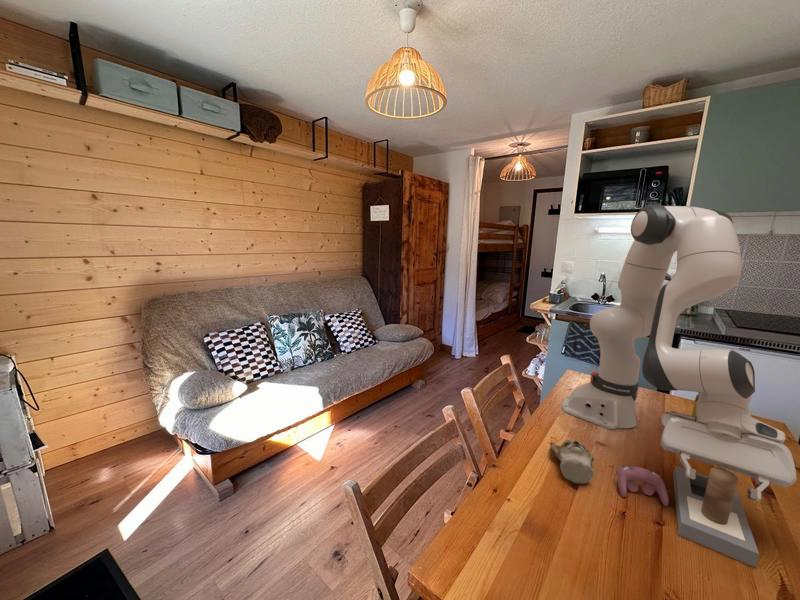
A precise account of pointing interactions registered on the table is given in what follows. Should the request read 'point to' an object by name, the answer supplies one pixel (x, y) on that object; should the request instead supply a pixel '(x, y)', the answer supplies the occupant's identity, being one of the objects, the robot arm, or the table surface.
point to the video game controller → (640, 474)
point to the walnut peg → (719, 495)
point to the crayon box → (695, 405)
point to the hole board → (699, 529)
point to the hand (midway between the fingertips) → (720, 488)
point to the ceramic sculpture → (574, 461)
